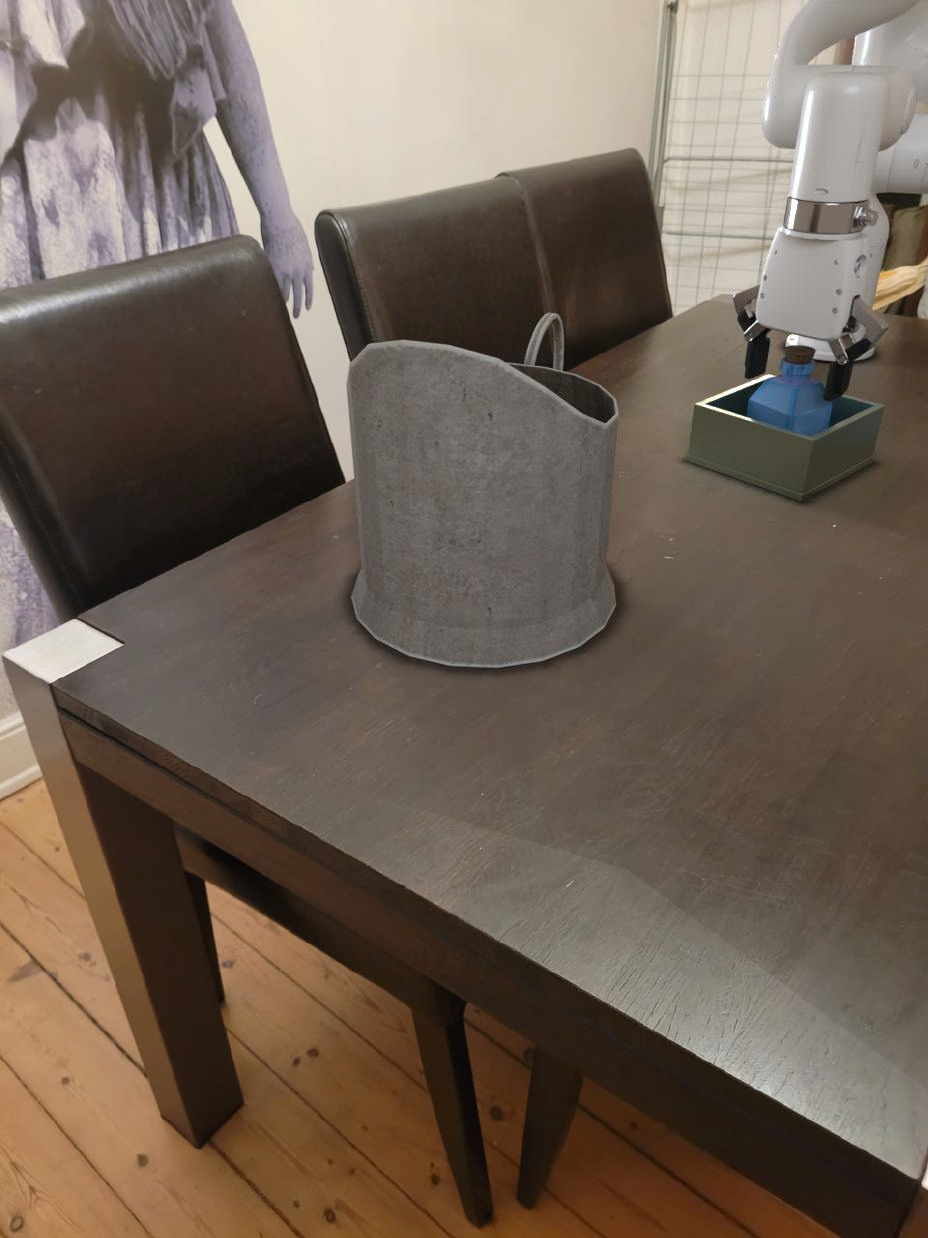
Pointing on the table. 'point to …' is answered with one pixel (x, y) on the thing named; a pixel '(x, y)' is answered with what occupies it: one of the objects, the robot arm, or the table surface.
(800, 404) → the perfume bottle
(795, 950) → the table surface
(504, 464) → the coal scuttle
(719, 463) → the basket
